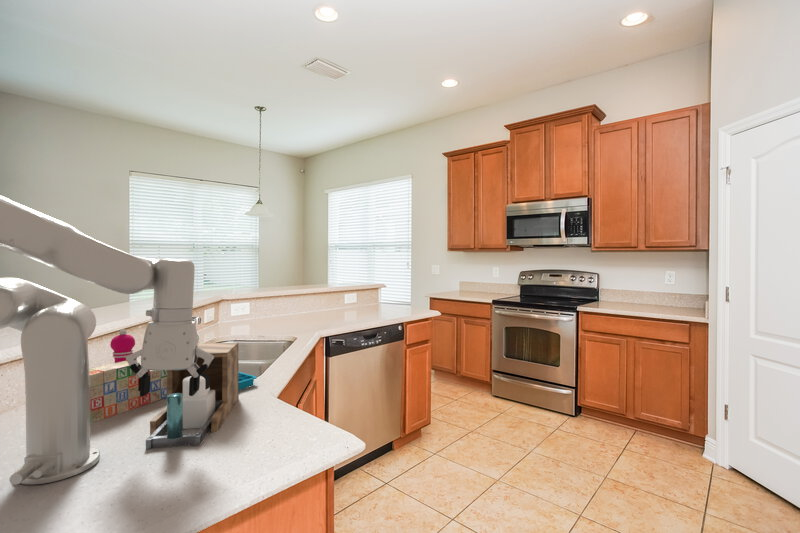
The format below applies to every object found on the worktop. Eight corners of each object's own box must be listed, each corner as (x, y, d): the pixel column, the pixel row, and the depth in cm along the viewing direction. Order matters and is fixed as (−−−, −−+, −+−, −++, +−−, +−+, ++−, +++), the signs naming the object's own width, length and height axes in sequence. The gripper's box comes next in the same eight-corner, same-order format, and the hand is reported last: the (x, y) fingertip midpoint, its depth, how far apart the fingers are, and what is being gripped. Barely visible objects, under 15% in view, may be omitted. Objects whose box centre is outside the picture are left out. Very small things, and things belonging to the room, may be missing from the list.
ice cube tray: (221, 375, 141) (221, 367, 141) (258, 386, 130) (258, 376, 130) (189, 384, 131) (189, 375, 131) (226, 396, 120) (225, 386, 120)
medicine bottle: (186, 418, 103) (185, 371, 102) (215, 416, 104) (215, 370, 104) (175, 430, 96) (175, 380, 95) (207, 428, 97) (207, 378, 97)
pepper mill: (142, 395, 119) (142, 328, 119) (115, 402, 113) (114, 332, 113) (130, 391, 123) (130, 326, 123) (103, 398, 117) (103, 329, 117)
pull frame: (199, 446, 87) (198, 396, 87) (144, 450, 85) (144, 399, 85) (221, 414, 105) (221, 372, 105) (176, 417, 103) (176, 374, 103)
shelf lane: (216, 432, 94) (216, 362, 94) (150, 436, 92) (149, 365, 92) (238, 398, 117) (238, 342, 117) (185, 401, 115) (185, 344, 114)
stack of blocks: (157, 393, 122) (157, 353, 121) (171, 396, 119) (170, 355, 119) (76, 419, 102) (75, 371, 102) (90, 423, 99) (89, 374, 99)
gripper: (120, 316, 82) (116, 400, 82) (210, 318, 85) (206, 399, 85) (137, 312, 89) (133, 389, 89) (219, 314, 92) (216, 388, 92)
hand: (169, 394), depth 87 cm, fingers open, 9 cm apart
